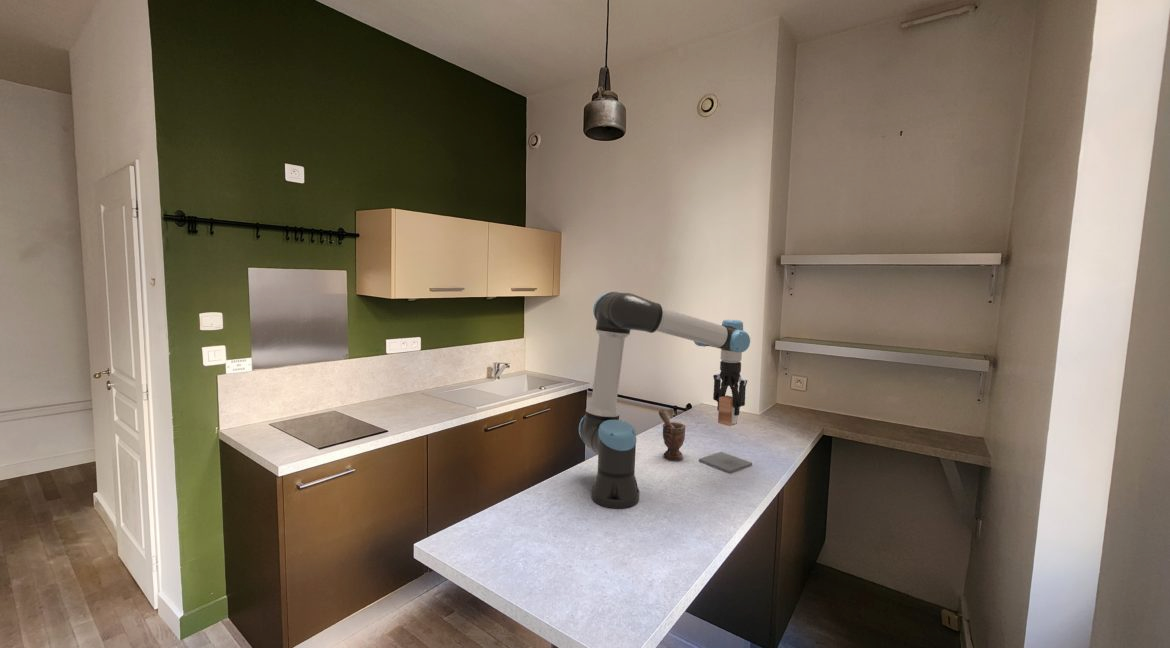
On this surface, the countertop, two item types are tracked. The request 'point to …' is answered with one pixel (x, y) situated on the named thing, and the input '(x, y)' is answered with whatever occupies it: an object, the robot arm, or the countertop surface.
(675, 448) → the mortar and pestle
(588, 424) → the robot arm
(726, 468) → the slate card
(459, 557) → the countertop surface
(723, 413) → the terracotta block
